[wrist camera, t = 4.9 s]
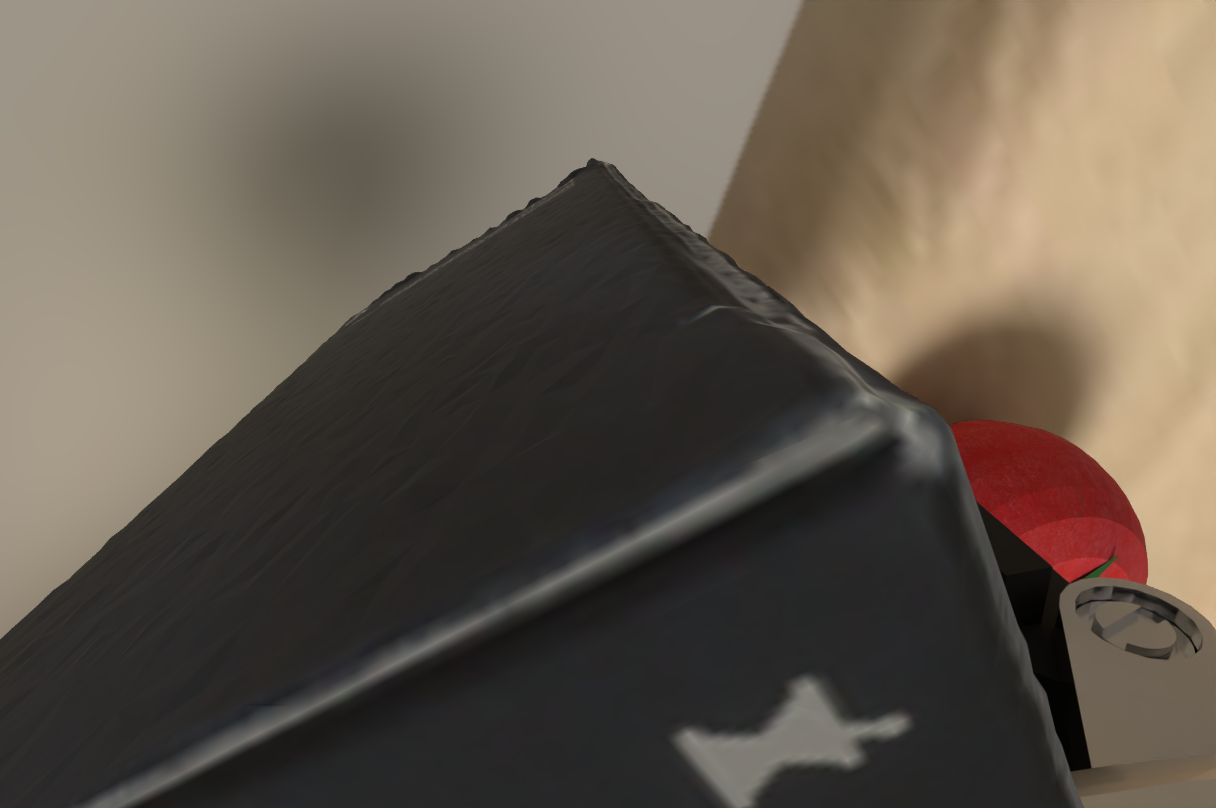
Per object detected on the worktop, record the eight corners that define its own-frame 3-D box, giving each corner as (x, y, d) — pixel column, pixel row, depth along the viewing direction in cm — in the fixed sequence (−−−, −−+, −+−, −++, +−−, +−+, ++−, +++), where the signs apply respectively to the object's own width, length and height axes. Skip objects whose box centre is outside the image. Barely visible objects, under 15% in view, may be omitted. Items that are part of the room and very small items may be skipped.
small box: (321, 327, 12) (-785, 1221, 2) (607, 146, 11) (1070, 210, 1) (594, 652, 16) (655, 1446, 6) (816, 543, 15) (1290, 1273, 5)
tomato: (978, 584, 25) (1160, 756, 18) (784, 584, 24) (896, 768, 17) (1053, 393, 22) (1312, 506, 15) (835, 381, 21) (1000, 498, 14)
